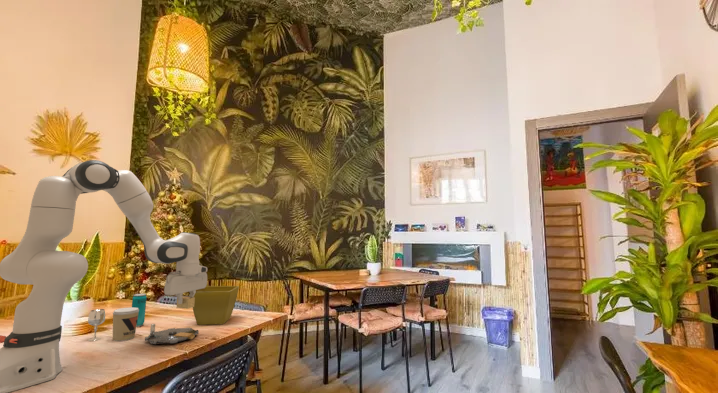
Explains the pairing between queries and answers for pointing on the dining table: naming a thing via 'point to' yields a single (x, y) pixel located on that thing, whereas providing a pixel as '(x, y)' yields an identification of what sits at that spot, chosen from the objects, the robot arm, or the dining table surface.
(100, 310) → the wineglass
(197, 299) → the flower pot
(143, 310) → the beverage can
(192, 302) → the tall wooden block
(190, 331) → the sprocket
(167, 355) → the dining table surface
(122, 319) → the coffee cup
